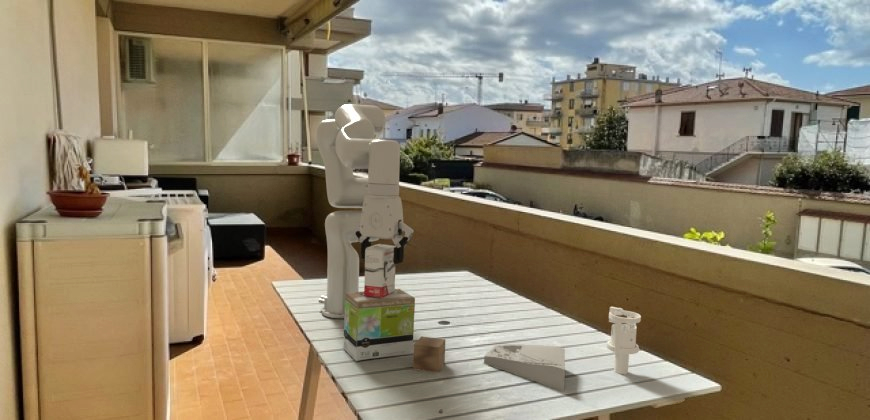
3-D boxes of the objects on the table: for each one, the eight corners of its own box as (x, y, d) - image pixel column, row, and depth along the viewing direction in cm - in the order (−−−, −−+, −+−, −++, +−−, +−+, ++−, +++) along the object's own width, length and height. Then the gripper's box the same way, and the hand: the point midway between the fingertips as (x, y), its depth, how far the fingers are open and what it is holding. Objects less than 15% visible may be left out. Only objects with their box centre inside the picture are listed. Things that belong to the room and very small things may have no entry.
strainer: (612, 363, 136) (616, 303, 135) (641, 371, 132) (645, 309, 130) (600, 371, 131) (604, 309, 129) (630, 380, 126) (634, 315, 125)
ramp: (467, 354, 140) (468, 333, 140) (518, 346, 148) (519, 327, 147) (537, 399, 116) (538, 374, 115) (594, 387, 123) (596, 363, 122)
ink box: (381, 298, 133) (382, 250, 132) (363, 296, 134) (364, 248, 133) (395, 290, 141) (396, 244, 140) (378, 288, 143) (379, 243, 141)
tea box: (356, 363, 131) (357, 301, 130) (342, 349, 140) (343, 291, 138) (413, 354, 138) (415, 296, 137) (397, 342, 147) (399, 287, 145)
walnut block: (413, 369, 128) (413, 344, 128) (420, 360, 134) (421, 336, 134) (438, 372, 127) (439, 347, 126) (444, 363, 133) (445, 339, 132)
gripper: (345, 189, 136) (344, 258, 138) (404, 193, 127) (402, 267, 129) (364, 188, 143) (362, 254, 144) (421, 192, 134) (419, 262, 136)
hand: (381, 260), depth 137 cm, fingers open, 9 cm apart
